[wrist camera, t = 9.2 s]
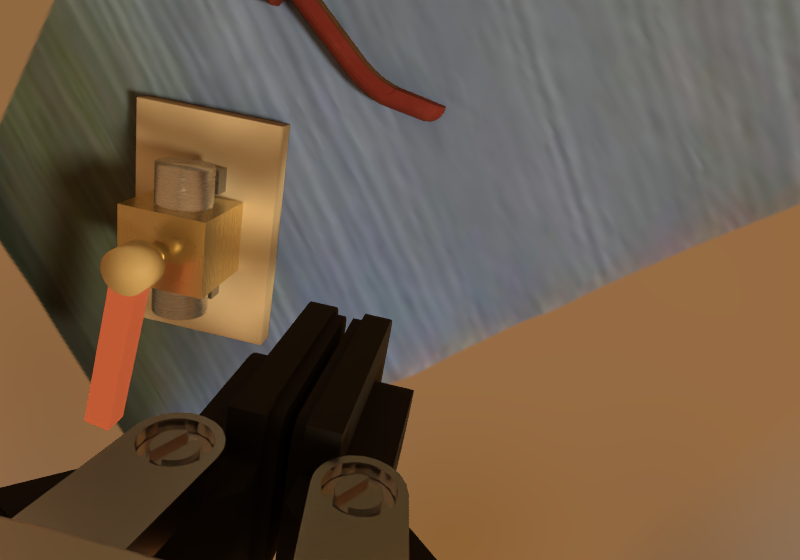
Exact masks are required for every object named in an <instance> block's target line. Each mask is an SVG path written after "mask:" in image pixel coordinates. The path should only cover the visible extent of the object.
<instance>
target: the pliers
mask: <svg viewBox="0 0 800 560" xmlns="http://www.w3.org/2000/svg"><path fill="white" fill-rule="evenodd" d="M267 1H268V3H269V4H270V5H274V6H279V5H280V4H281V3H282V2H283V1H284V0H267ZM292 2H293V3H294V4H295V6H296V7H297V8H298V10H299V11H300V12H301V14H302V15H303V16H304V18H305V19H306V20H307V22H308V23H309V24H310V26H311V27H312V28H313V30H314V31H315V32H316V34H317V35H318V36H319V38H320V39H321V40H322V41H323V43H324V44H325V45H326V47H327V48H328V49H329V51H330V52H331V53H332V55H333V56H334V57H335V59H336V60H337V61H338V63H339V64H340V65H341V67H342V68H343V69H344V71H345V72H346V73H347V75H348V76H349V77H350V78H351V79H352V80H353V81H354V83H355V84H356V85H357V86H358V87H359V88H360V89H361V90H362V91H364V92H365V93H366V94H367V95H368V96H369V97H370V98H372V99H373V100H375V101H376V102H378V103H379V104H381V105H384V106H387V107H389V108H392V109H394V110H397V111H399V112H402V113H405V114H407V115H410V116H412V117H415V118H417V119H420V120H422V121H434V120H437V119H438V118H440V117H441V116H442V114H443V113H444V111H445V108H446V107H445V106H443V105H441V104H438V103H436V102H434V101H431V100H429V99H426V98H424V97H422V96H419V95H417V94H414V93H412V92H409V91H407V90H404V89H402V88H399V87H398V86H396V85H394V84H392V83H391V82H389V81H388V80H386V79H385V78H384V77H382V76H381V75H380V74H379V73H378V72H377V71H376V70H375V69H374V68H373V67H372V66H371V65H370V64H369V62H368V61H367V60H366V59H365V57H364V56H363V55H362V53H361V52H360V51H359V49H358V48H357V47H356V45H355V44H354V43H353V41H352V40H351V39H350V37H349V36H348V35H347V33H346V32H345V31H344V29H343V28H342V27H341V25H340V24H339V22H338V21H337V20H336V18H335V17H334V16H333V14H332V13H331V12H330V10H329V9H328V8H327V6H326V5H325V4H324V2H323V1H322V0H292Z"/></svg>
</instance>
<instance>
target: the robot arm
mask: <svg viewBox="0 0 800 560" xmlns="http://www.w3.org/2000/svg"><path fill="white" fill-rule="evenodd" d="M391 326H392V320H390V319H386V318H382V317H377V316H373V315H369V314H365V315H364V317H363V319H362V320H359V319H354V318H353V320H352V322H351V323H350V325H349V327H348V329H347V330H346V332H345V327H346V317H345V316H341V315H338V308H337V307H334V306H329V305H325V304H320V303H316V302H312V301H311V302H310V303H309V304H308V305H307V306H306V308H305V309H304V310H303V311H302V313H301V314H300V315H299V316H298V318H297V319H296V320H295V322H294V323H293V324H292V325H291V327H290V328H289V329H288V330H287V332H286V333H285V334H284V335H283V337H282V338H281V339H280V341H279V342H278V343H277V344H276V346H275V347H274V348H273V349H272V351H271V352H270V353H269V355H264V354H260V353H252V354H251V355H250V356H249V357H248V358H247V359H246V361H245V362H244V363H243V364H242V365H241V366H240V368H239V369H238V370H237V371H236V372H235V374H234V375H233V376H232V377H231V378H230V379H229V381H228V382H227V383H226V384H225V385H224V386H223V388H222V389H221V390H220V391H219V392H218V394H217V395H216V396H215V397H214V398H213V399H212V401H211V402H210V403H209V404H208V405H207V407H206V408H205V409H204V410H203V411H202V412H201V414H200V415H196V414H192V413H168V414H161V415H158V416H155V417H151V418H148V419H146V420H144V421H142V422H141V423H139V424H137V425H135V426H134V427H133V428H131V429H130V430H129V431H127V432H126V433H125V434H123V435H122V436H121V437H119V438H118V439H117V440H115V441H114V442H113V443H112V444H110V445H109V446H107V447H106V448H105V449H103V450H102V451H101V452H99V453H98V454H97V455H95V456H94V457H93V458H91V459H90V460H89V461H87V462H86V463H85V464H84V465H82V466H81V467H79V468H78V469H75V470H71V471H67V472H63V473H58V474H54V475H51V476H46V477H42V478H38V479H34V480H30V481H26V482H22V483H18V484H14V485H10V486H6V487H1V488H0V560H273V557H274V555H275V553H276V560H437V559H436V558H435V557H434V556H433V555H432V554H431V552H430V551H429V550H428V549H427V548H426V547H425V545H424V544H423V543H422V542H421V541H420V540H419V538H418V537H417V536H416V535H415V534H414V532H413V531H412V530H411V529H410V528H409V494H408V489H407V485H406V483H405V482H404V480H403V478H402V477H401V475H400V474H399V473H398V472H396V469H397V465H398V461H399V456H400V452H401V448H402V443H403V439H404V435H405V431H406V426H407V421H408V417H409V411H410V407H411V402H412V397H413V392H414V390H411V389H407V388H403V387H398V386H394V385H390V384H386V383H382V382H381V380H382V374H383V369H384V364H385V358H386V353H387V348H388V343H389V337H390V332H391ZM344 333H345V334H344ZM276 551H277V552H276Z"/></svg>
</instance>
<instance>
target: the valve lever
mask: <svg viewBox="0 0 800 560" xmlns="http://www.w3.org/2000/svg"><path fill="white" fill-rule="evenodd" d="M100 268H101V274H102V277H103V279H104V281H105V283H106V284H107V285H108V291H107V297H106V302H105V308H104V313H103V319H102V324H101V330H100V336H99V341H98V347H97V352H96V358H95V363H94V369H93V375H92V380H91V386H90V391H89V397H88V403H87V408H86V414H85V419H84V421H85V422H88V423H90V424H93V425H95V426H98V427H100V428H103V429H105V430H109V429H110V428H111V427H112V426H113V425H114V424H115V423H116V422H117V421H119V420H120V419H121V418H122V417H123V413H124V408H125V404H126V399H127V394H128V389H129V384H130V380H131V375H132V370H133V365H134V361H135V356H136V351H137V346H138V341H139V337H140V332H141V327H142V322H143V318H144V313H145V308H146V303H147V298H148V294H149V289H150V287H151V286H152V285H154V284H155V283H157V282H158V281H159V280H160V279H161V278H162V276H163V274H164V270H165V264H164V260H163V257H162V255H161V253H160V252H159V250H158V249H157V248H156V247H155V246H154V245H152V244H151V243H149V242H147V241H144V240H139V239H136V240H131V241H129V242H127V243H124V244H122V245H120V246H118V247H116V248H114V249H112V250H110V251H108V252H107V253H106V254H105V255H104V256H103V258H102V261H101V266H100Z"/></svg>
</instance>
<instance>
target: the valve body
mask: <svg viewBox="0 0 800 560" xmlns="http://www.w3.org/2000/svg"><path fill="white" fill-rule="evenodd" d="M226 179H227V168H225V167H220V166H216V165H213V164H211V163H209V162H206V161H202V160H197V159H191V158H182V157H165V158H159V159H157V160H155V173H154V190H152V191H150V192H147V193H144V194H142V195H139V196H136V197H134V198H131V199H128V200H126V201H123V202H120V203H118V204H117V247H118V246H120V245H122V244H124V243H127V242H129V241H131V240H136V239H139V240H144V241H147V242H149V243H151V244H152V245H154V246H155V247H156V248H157V249H158V250H159V252H160V253H161V255H162V257H163V260H164V264H165V270H164V274H163V276H162V278H161V279H160V280H159V281H158V282H157V283H155V284H154V285H152V286H151V287H150V288H152V301H151V309H152V312H153V313H154V314H156V315H157V316H159V317H162V318H165V319H170V320H190V319H195V318H198V317H201V316H203V315H204V314H205V313H206V312H207V306H208V298H209V299H212V298H213V297H214V296H216V295H217V294H218V293H219V285H220V284H221V283H222V282H224V281H225V280H226V279H227V278H229V277H230V276H231V275H232V274H234V273H235V272H236V271H237V270H238V263H239V250H240V238H241V225H242V212H243V202H240V201H235V200H231V199H226V198H221V197H217V196H214V194H216V195H219V194H221V193H223V192H225V191H226Z"/></svg>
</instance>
